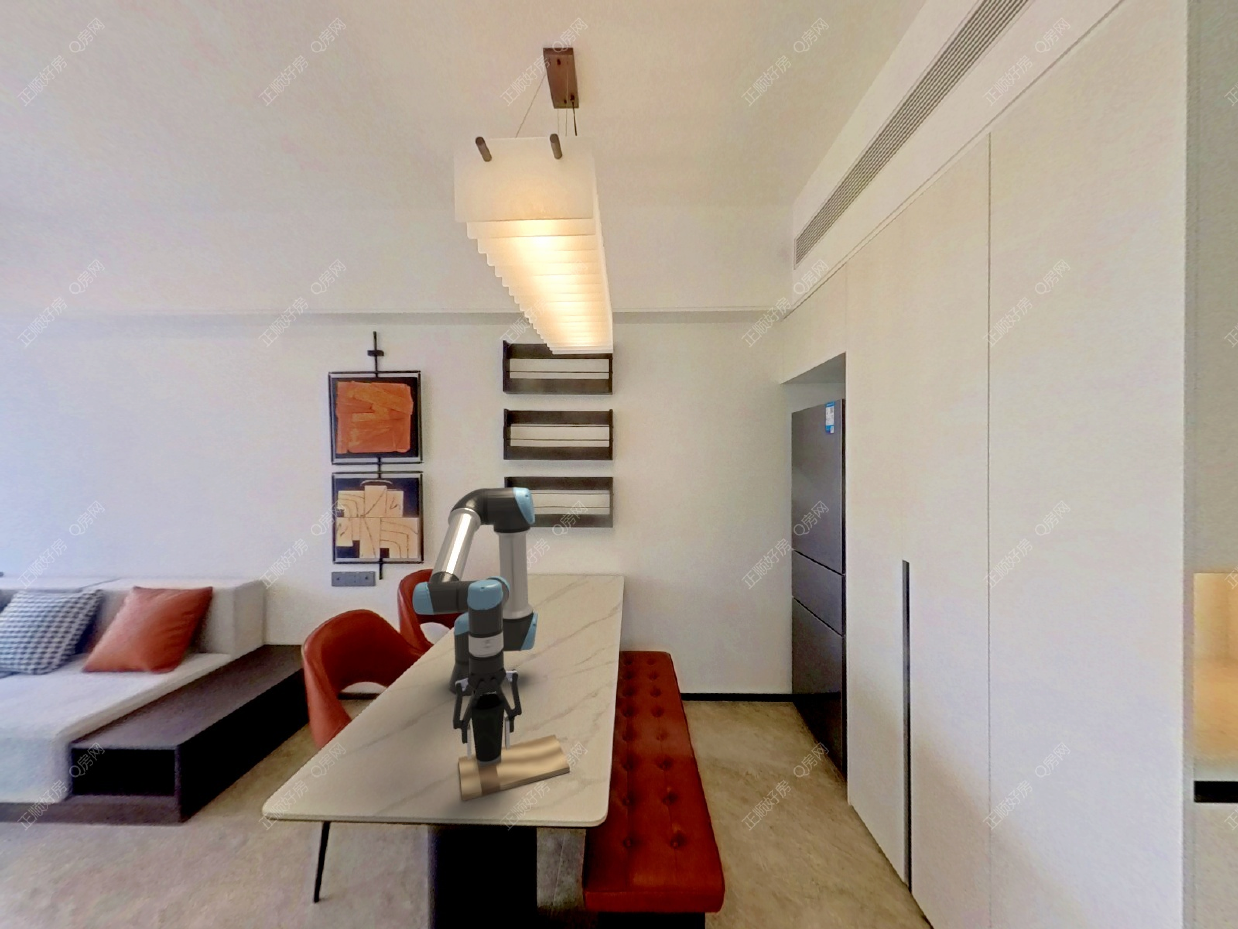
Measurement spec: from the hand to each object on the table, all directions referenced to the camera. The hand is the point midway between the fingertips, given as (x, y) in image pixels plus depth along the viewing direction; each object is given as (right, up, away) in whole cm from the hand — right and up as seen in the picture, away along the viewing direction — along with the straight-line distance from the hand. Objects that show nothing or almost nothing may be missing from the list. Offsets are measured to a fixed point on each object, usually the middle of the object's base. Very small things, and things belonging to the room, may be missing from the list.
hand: (488, 751), depth 107 cm
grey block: (-2, -6, +8) cm, 10 cm away
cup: (0, -1, 0) cm, 1 cm away
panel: (+4, -8, +6) cm, 11 cm away
